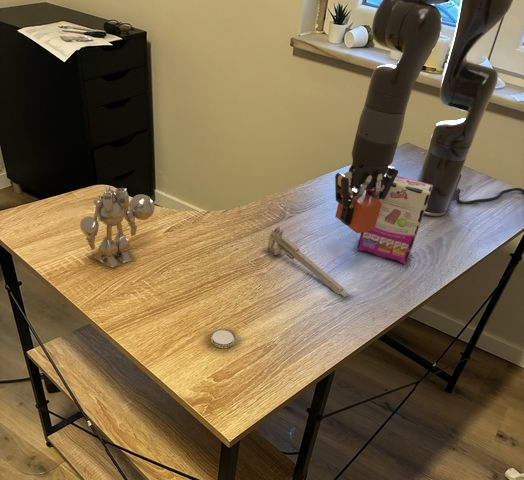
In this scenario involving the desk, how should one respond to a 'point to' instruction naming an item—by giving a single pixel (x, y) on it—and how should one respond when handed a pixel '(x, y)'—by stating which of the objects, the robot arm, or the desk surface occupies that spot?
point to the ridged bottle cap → (222, 338)
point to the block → (363, 213)
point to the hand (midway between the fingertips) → (355, 220)
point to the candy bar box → (397, 220)
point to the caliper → (301, 259)
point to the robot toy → (115, 223)
